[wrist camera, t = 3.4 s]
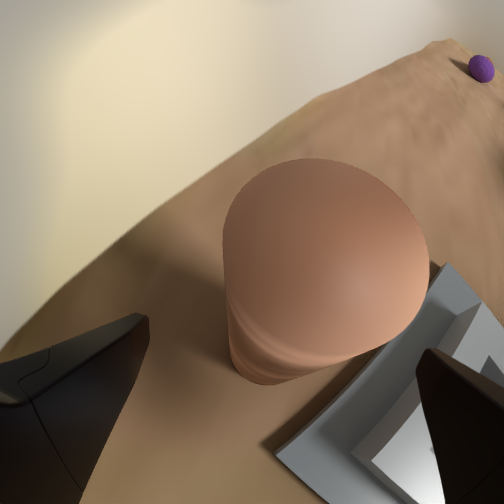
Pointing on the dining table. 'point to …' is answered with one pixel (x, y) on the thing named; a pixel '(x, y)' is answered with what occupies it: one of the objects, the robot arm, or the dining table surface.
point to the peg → (318, 268)
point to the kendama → (481, 68)
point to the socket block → (395, 406)
